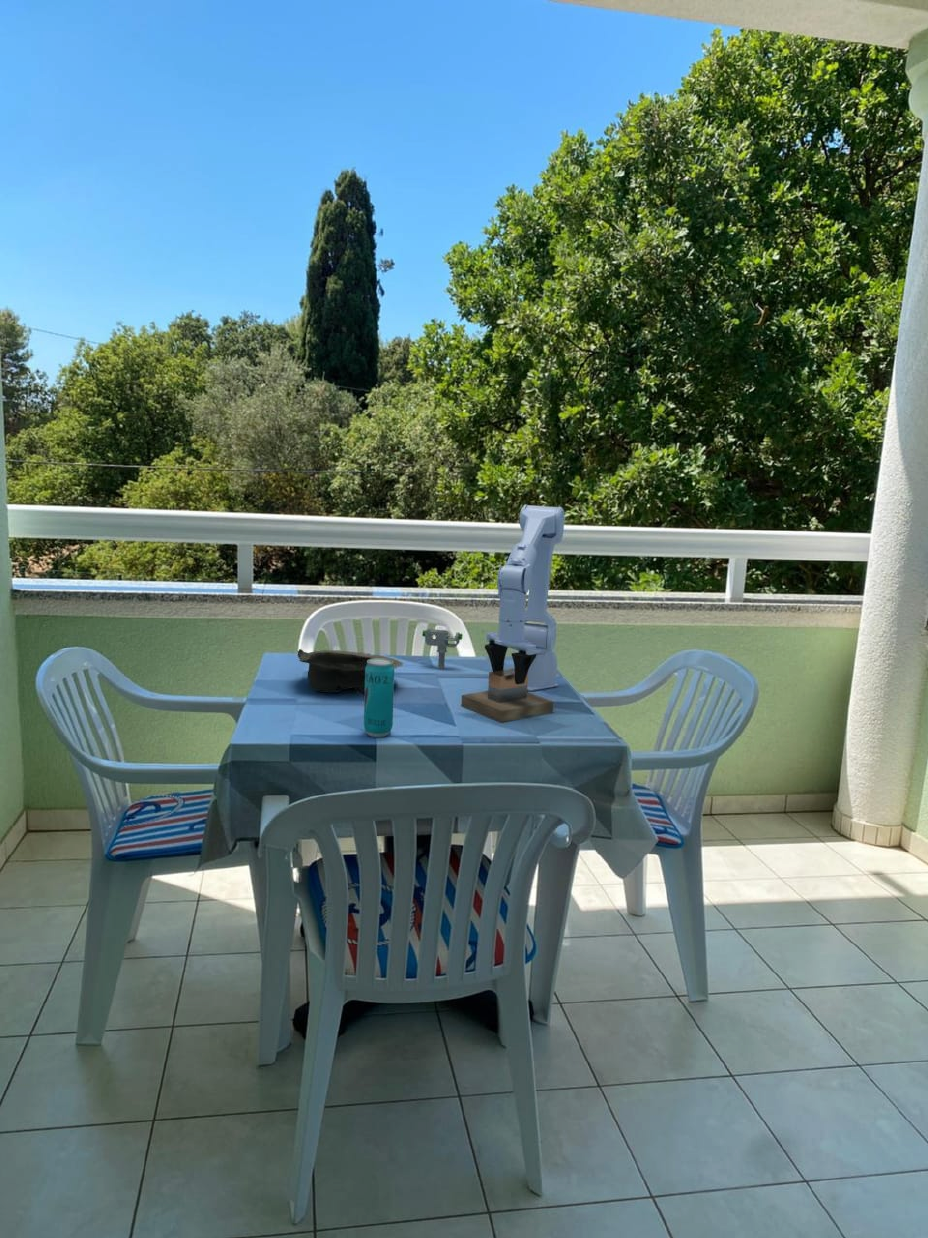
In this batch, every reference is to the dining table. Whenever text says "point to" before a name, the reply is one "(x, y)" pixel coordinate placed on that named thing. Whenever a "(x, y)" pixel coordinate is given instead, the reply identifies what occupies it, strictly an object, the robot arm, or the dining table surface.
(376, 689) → the beverage can
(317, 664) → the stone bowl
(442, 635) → the mechanical component
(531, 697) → the walnut stand
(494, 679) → the brown rectangular block
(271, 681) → the dining table surface
